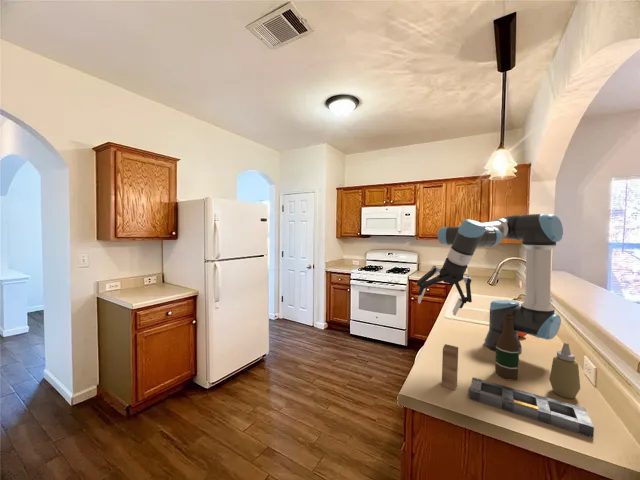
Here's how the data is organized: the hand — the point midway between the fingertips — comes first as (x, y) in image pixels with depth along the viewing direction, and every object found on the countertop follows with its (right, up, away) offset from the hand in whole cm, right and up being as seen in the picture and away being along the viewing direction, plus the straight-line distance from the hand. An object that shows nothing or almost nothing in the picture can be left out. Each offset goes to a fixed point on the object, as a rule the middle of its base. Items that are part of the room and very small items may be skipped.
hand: (436, 307), depth 108 cm
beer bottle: (+27, -27, -1) cm, 38 cm away
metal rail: (+20, -27, -21) cm, 39 cm away
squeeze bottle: (+39, -27, -13) cm, 50 cm away
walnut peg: (+1, -26, -8) cm, 28 cm away
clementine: (+63, -26, +40) cm, 80 cm away
